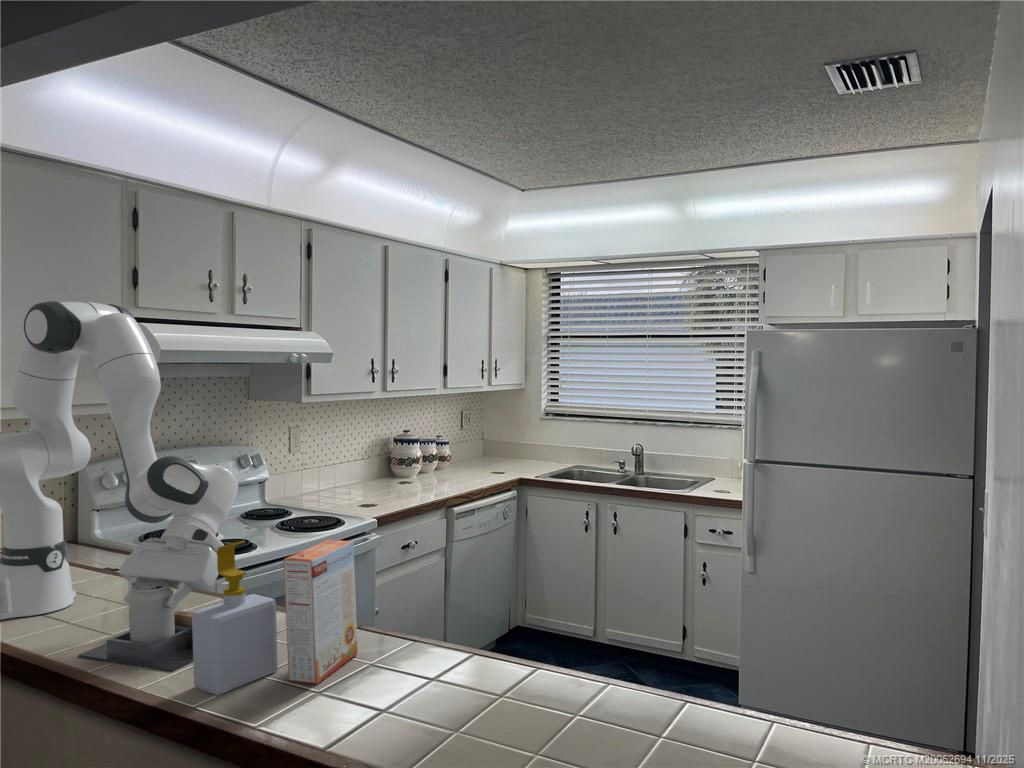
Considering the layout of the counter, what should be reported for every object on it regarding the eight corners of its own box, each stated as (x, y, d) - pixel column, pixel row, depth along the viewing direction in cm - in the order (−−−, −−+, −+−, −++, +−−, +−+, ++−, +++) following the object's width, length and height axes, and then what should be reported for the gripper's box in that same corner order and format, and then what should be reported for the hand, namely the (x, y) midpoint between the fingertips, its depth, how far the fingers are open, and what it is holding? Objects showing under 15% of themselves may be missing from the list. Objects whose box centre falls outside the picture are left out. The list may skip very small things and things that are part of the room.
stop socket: (78, 656, 144) (77, 638, 144) (131, 635, 155) (131, 617, 155) (172, 672, 136) (171, 652, 136) (221, 647, 147) (220, 629, 147)
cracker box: (329, 651, 144) (326, 538, 143) (358, 655, 142) (356, 540, 142) (285, 682, 131) (281, 557, 130) (316, 686, 129) (313, 559, 128)
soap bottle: (216, 697, 125) (212, 551, 124) (192, 687, 129) (188, 546, 128) (279, 671, 135) (275, 536, 134) (255, 663, 139) (251, 532, 138)
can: (165, 656, 142) (163, 590, 142) (123, 657, 142) (121, 591, 141) (181, 641, 150) (179, 578, 149) (141, 642, 149) (139, 580, 149)
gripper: (136, 528, 155) (95, 591, 146) (219, 534, 148) (181, 601, 139) (154, 545, 160) (116, 607, 151) (236, 552, 152) (200, 618, 143)
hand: (148, 604), depth 145 cm, fingers open, 8 cm apart
